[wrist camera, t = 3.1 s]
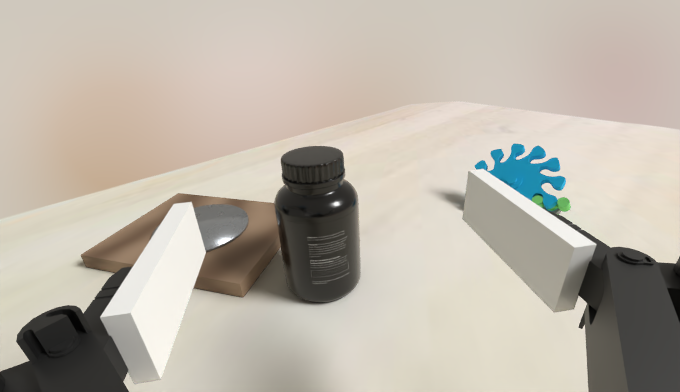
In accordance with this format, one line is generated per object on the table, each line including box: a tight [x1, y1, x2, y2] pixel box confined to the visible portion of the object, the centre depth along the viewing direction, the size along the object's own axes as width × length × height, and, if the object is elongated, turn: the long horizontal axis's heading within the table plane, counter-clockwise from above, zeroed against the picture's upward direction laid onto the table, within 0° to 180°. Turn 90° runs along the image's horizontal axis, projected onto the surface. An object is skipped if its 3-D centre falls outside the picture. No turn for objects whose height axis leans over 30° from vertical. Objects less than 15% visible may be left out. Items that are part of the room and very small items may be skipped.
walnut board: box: [81, 193, 281, 297], centre depth 37 cm, size 18×14×2 cm
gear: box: [475, 144, 571, 215], centre depth 39 cm, size 11×6×10 cm
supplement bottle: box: [274, 146, 360, 302], centre depth 28 cm, size 7×7×12 cm
